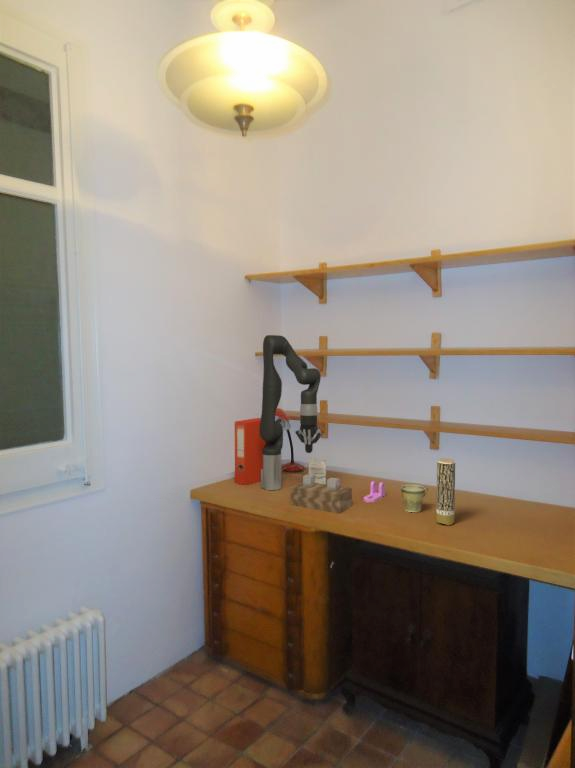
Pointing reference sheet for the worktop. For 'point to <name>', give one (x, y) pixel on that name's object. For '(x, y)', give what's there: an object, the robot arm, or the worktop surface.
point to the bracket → (375, 492)
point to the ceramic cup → (413, 497)
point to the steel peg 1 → (309, 481)
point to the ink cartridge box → (318, 470)
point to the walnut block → (321, 497)
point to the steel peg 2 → (333, 484)
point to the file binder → (248, 451)
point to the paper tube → (445, 491)
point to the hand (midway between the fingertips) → (308, 452)
